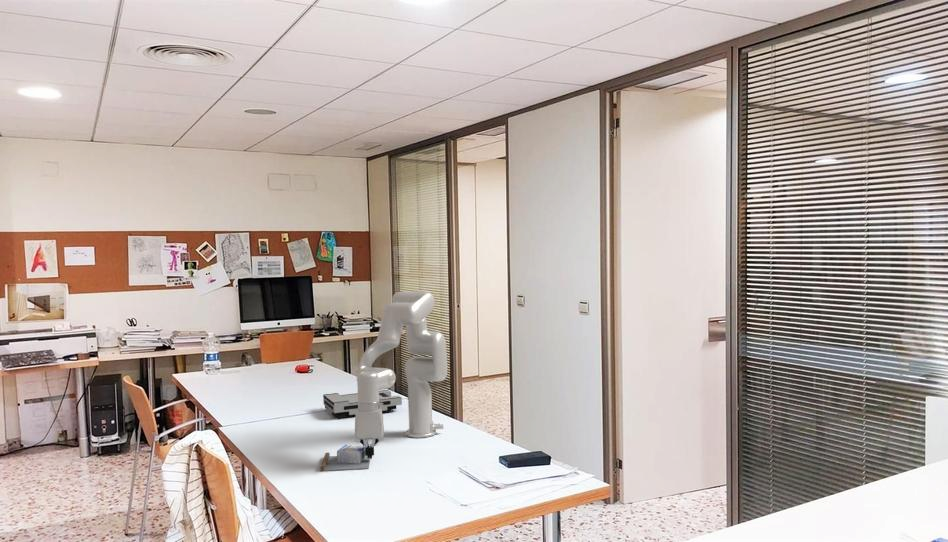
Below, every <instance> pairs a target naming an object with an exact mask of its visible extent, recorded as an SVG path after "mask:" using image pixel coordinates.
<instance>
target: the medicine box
mask: <svg viewBox="0 0 948 542" xmlns="http://www.w3.org/2000/svg"><path fill="white" fill-rule="evenodd" d="M336 456H337V462H338V463H355V464H359V463H360V462H362V461H363V460H364V459H365V458H367V456H366V455H365V447H364V446H363V445H362V444H345V445H343V446H341V447H340V448H339V449H338V450H337V451H336Z"/></svg>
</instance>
